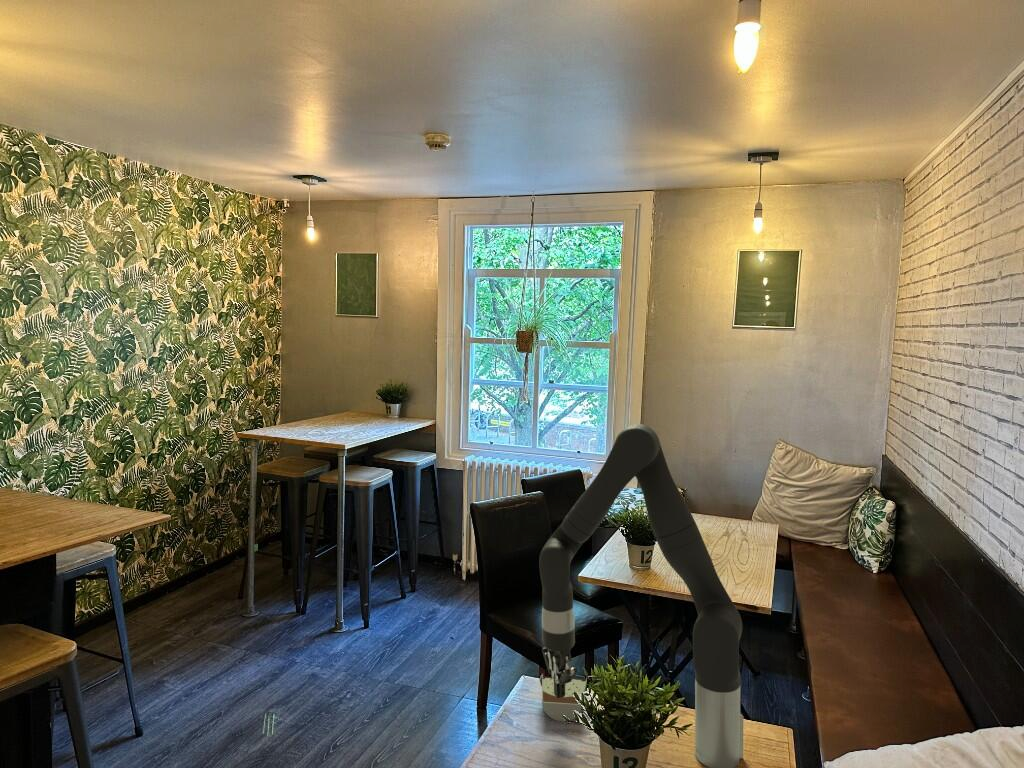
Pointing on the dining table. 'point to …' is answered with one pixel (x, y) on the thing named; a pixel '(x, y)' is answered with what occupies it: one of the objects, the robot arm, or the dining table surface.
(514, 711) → the dining table surface
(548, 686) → the food container
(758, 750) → the dining table surface
